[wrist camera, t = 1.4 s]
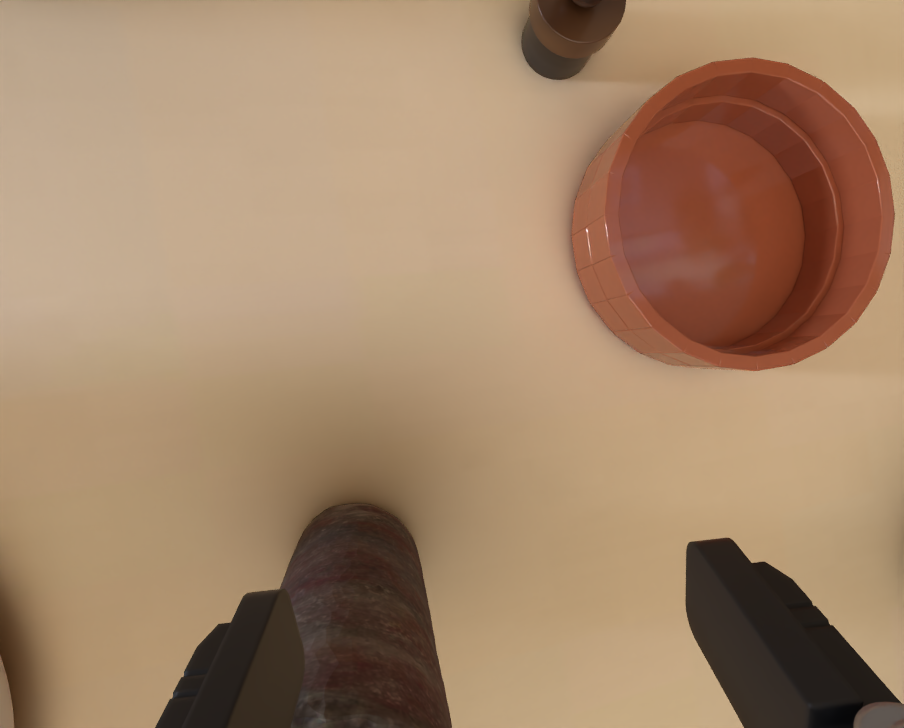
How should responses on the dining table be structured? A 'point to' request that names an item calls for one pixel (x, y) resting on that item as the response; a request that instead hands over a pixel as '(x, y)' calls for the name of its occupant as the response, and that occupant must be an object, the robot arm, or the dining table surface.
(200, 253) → the dining table surface
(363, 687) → the candle
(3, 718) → the bowl
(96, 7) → the dining table surface
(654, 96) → the basin
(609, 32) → the tamper
